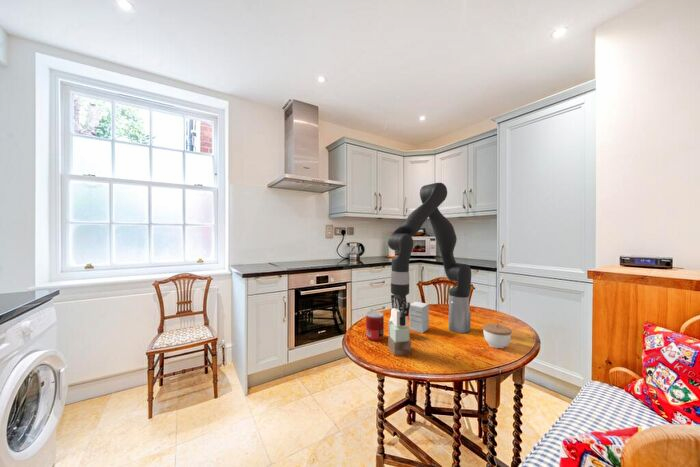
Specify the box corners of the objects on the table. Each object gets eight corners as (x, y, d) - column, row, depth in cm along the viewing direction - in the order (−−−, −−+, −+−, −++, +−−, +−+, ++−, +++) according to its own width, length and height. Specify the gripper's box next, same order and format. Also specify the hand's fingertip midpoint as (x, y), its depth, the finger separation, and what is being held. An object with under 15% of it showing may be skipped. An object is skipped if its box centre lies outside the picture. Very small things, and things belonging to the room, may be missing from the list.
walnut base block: (403, 346, 110) (403, 334, 110) (410, 353, 103) (410, 341, 103) (388, 347, 108) (388, 335, 108) (394, 355, 101) (394, 343, 101)
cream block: (402, 321, 108) (402, 307, 108) (407, 325, 104) (407, 310, 104) (392, 322, 107) (392, 308, 107) (396, 326, 103) (396, 311, 103)
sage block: (402, 335, 109) (403, 323, 109) (409, 341, 103) (409, 328, 103) (389, 336, 108) (389, 324, 108) (395, 342, 102) (395, 329, 102)
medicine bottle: (405, 331, 125) (405, 307, 125) (403, 337, 118) (404, 311, 118) (391, 329, 127) (391, 305, 127) (388, 335, 120) (388, 310, 120)
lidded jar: (503, 353, 103) (503, 330, 103) (477, 343, 112) (477, 322, 112) (516, 347, 109) (516, 325, 109) (491, 338, 118) (491, 318, 118)
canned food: (382, 341, 113) (383, 317, 113) (365, 340, 115) (365, 316, 115) (384, 335, 121) (384, 311, 121) (367, 333, 122) (367, 310, 122)
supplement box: (415, 325, 134) (415, 301, 133) (429, 328, 129) (429, 303, 129) (408, 329, 128) (408, 304, 128) (422, 333, 123) (422, 307, 123)
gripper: (416, 285, 99) (416, 329, 99) (401, 278, 113) (400, 316, 113) (398, 286, 97) (398, 330, 98) (385, 279, 111) (384, 318, 112)
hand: (399, 322), depth 106 cm, fingers closed on cream block, 4 cm apart
